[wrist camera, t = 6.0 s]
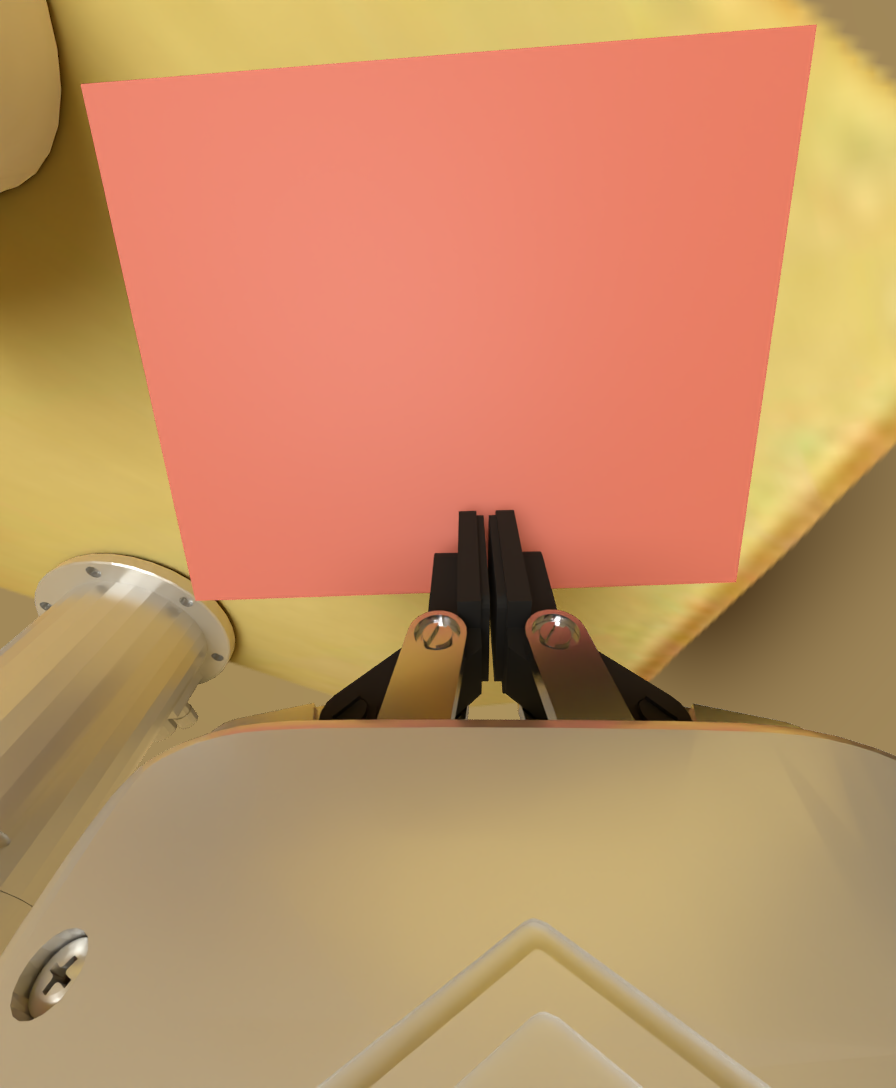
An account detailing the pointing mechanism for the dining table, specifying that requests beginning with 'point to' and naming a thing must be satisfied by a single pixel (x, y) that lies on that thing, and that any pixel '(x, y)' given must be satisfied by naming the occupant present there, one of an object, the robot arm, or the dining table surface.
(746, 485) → the lid
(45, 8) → the toilet tissue
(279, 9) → the dining table surface
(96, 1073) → the robot arm
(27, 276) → the dining table surface
